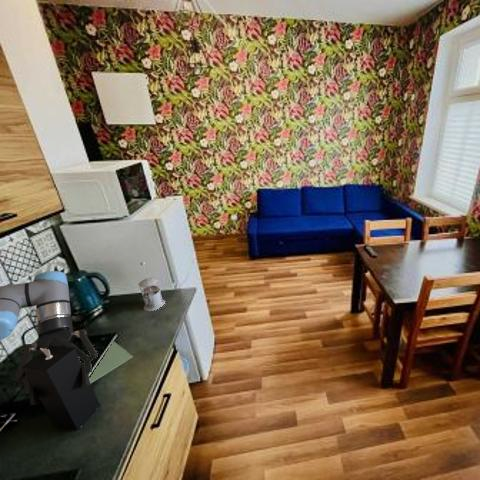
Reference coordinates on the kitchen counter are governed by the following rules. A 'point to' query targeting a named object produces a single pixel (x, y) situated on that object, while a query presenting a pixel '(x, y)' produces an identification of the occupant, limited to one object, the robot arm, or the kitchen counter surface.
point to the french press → (151, 293)
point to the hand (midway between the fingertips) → (61, 394)
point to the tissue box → (62, 386)
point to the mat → (110, 361)
